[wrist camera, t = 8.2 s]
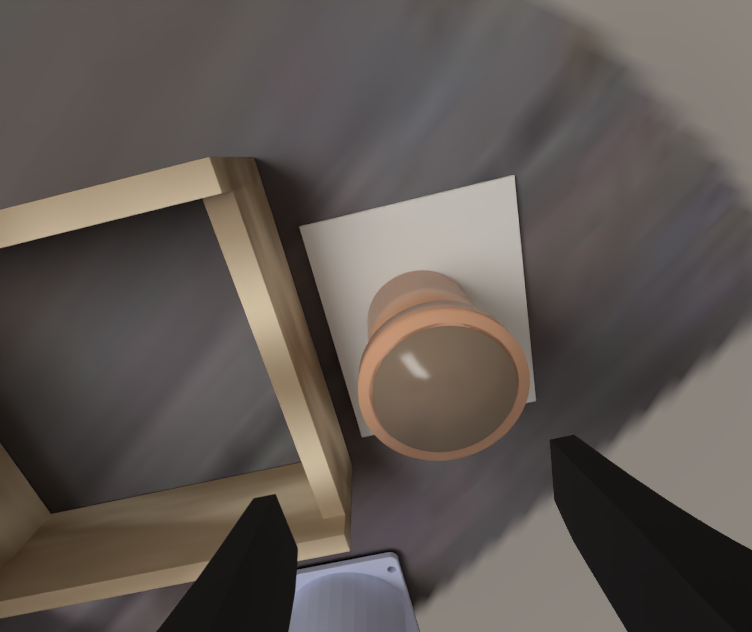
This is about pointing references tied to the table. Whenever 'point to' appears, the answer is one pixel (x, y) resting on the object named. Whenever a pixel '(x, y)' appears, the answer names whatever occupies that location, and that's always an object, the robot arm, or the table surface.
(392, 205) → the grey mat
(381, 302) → the terracotta flower pot
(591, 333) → the table surface
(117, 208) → the cold frame
